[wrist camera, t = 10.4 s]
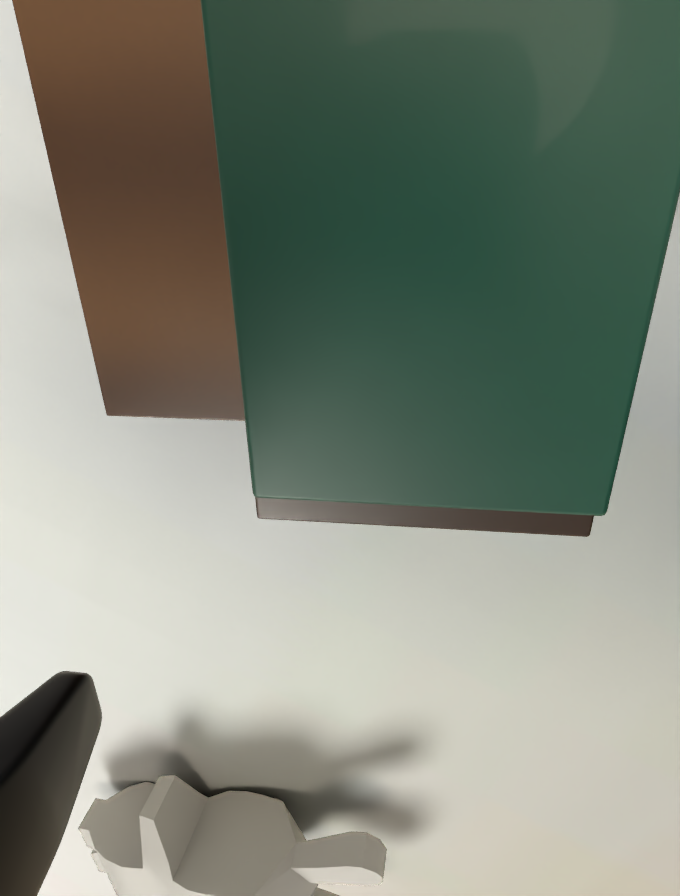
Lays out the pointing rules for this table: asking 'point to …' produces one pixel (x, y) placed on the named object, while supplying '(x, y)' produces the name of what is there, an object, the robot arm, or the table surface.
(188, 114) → the step shelf
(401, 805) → the table surface
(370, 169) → the tea packet
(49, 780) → the robot arm
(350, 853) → the bunny figurine
